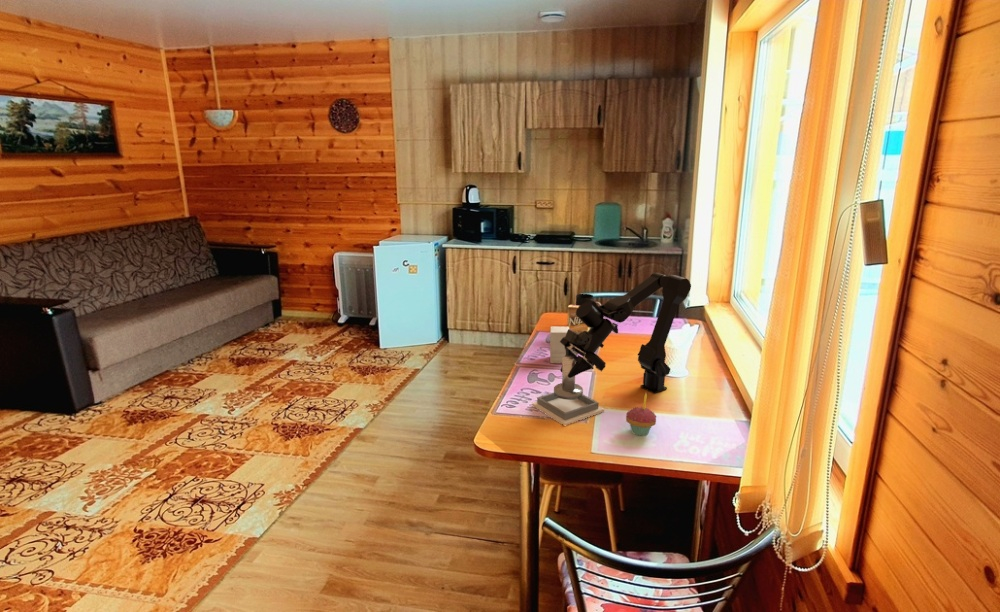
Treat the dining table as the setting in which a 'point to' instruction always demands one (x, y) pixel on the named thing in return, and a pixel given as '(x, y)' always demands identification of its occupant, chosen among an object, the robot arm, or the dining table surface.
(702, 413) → the dining table surface
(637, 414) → the cupcake
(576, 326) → the candy box
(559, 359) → the supplement box
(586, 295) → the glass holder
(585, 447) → the dining table surface
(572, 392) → the flared base peg
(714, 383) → the dining table surface
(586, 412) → the board
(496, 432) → the dining table surface
